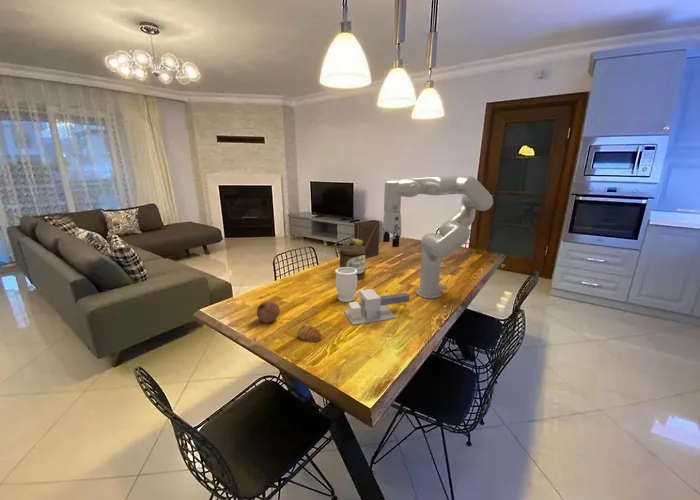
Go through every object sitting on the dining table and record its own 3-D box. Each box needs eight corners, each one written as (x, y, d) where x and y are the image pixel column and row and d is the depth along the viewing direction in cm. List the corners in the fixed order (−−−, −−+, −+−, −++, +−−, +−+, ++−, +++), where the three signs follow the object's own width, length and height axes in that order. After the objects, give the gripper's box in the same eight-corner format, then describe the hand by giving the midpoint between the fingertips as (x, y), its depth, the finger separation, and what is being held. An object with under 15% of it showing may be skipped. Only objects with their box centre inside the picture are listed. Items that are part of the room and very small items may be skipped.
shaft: (406, 298, 141) (406, 292, 140) (409, 301, 138) (409, 295, 138) (365, 304, 135) (365, 298, 135) (367, 307, 133) (367, 301, 132)
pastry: (325, 336, 119) (325, 327, 118) (315, 345, 114) (314, 336, 113) (306, 330, 124) (306, 321, 123) (295, 338, 118) (295, 329, 117)
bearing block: (384, 305, 145) (385, 285, 142) (396, 318, 133) (397, 297, 130) (343, 311, 139) (343, 291, 136) (352, 325, 127) (352, 303, 124)
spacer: (357, 301, 136) (348, 302, 135) (361, 307, 130) (352, 308, 129) (357, 311, 137) (348, 312, 136) (361, 318, 132) (352, 319, 131)
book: (372, 252, 228) (373, 219, 221) (380, 255, 222) (381, 221, 215) (349, 258, 214) (349, 223, 207) (357, 261, 208) (358, 225, 201)
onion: (263, 331, 128) (252, 316, 123) (262, 315, 136) (252, 300, 130) (284, 322, 129) (274, 306, 123) (282, 307, 137) (272, 291, 131)
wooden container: (350, 283, 171) (350, 245, 165) (334, 275, 182) (334, 240, 176) (370, 277, 180) (370, 241, 174) (353, 270, 191) (354, 236, 185)
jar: (338, 304, 146) (338, 275, 141) (333, 295, 155) (333, 267, 151) (359, 301, 148) (360, 272, 144) (353, 293, 158) (354, 265, 154)
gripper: (408, 210, 133) (406, 248, 138) (391, 205, 148) (389, 239, 153) (393, 211, 130) (391, 249, 135) (376, 206, 146) (376, 240, 151)
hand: (390, 244), depth 144 cm, fingers open, 9 cm apart
